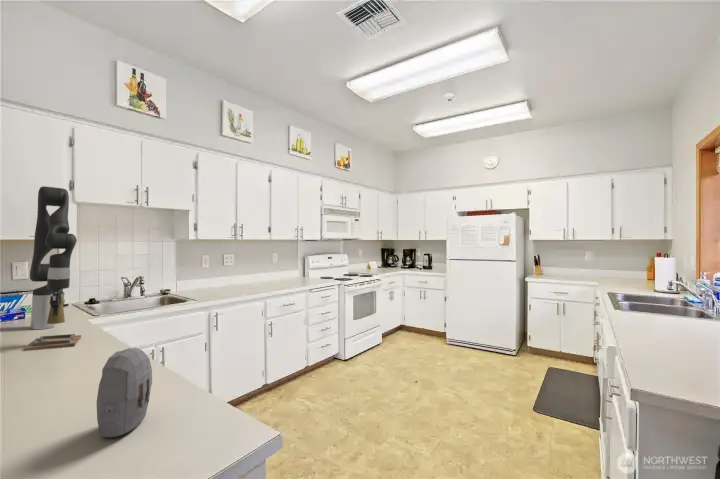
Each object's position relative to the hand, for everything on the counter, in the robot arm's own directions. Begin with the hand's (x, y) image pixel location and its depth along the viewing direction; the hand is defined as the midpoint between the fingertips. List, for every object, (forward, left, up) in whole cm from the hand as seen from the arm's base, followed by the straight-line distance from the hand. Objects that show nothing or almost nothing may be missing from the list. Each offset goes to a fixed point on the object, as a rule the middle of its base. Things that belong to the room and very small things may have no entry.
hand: (56, 316), depth 154 cm
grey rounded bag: (+97, +32, -12) cm, 103 cm away
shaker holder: (0, 0, -12) cm, 12 cm away
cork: (0, 0, -3) cm, 3 cm away
